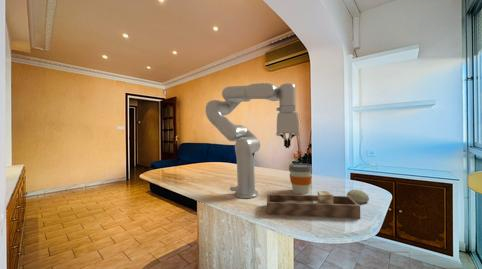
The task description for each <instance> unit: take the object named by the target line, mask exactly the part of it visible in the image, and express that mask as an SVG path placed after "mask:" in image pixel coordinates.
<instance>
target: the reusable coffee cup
mask: <svg viewBox="0 0 482 269" xmlns="http://www.w3.org/2000/svg"><path fill="white" fill-rule="evenodd" d="M288 166H289V167H288V170H289V179H290V183H291V187H292V192H293V193H295V194H296V195H308V194H310V187H311V184H312V180H313V179H312V177H313V176H312V172H313V165H312V164H309V163H305V162H304V163H301V162H299V163H296V162H295V163H290V164H289V165H288Z"/></svg>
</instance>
